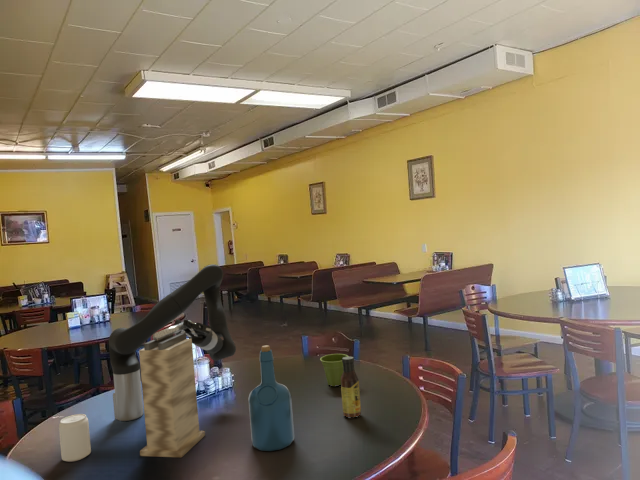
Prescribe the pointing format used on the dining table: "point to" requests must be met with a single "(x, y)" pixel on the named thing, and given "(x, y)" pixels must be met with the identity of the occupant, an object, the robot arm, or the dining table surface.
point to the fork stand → (169, 397)
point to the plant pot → (333, 368)
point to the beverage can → (74, 437)
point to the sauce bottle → (350, 389)
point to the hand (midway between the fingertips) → (180, 322)
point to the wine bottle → (270, 409)
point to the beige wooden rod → (168, 331)
